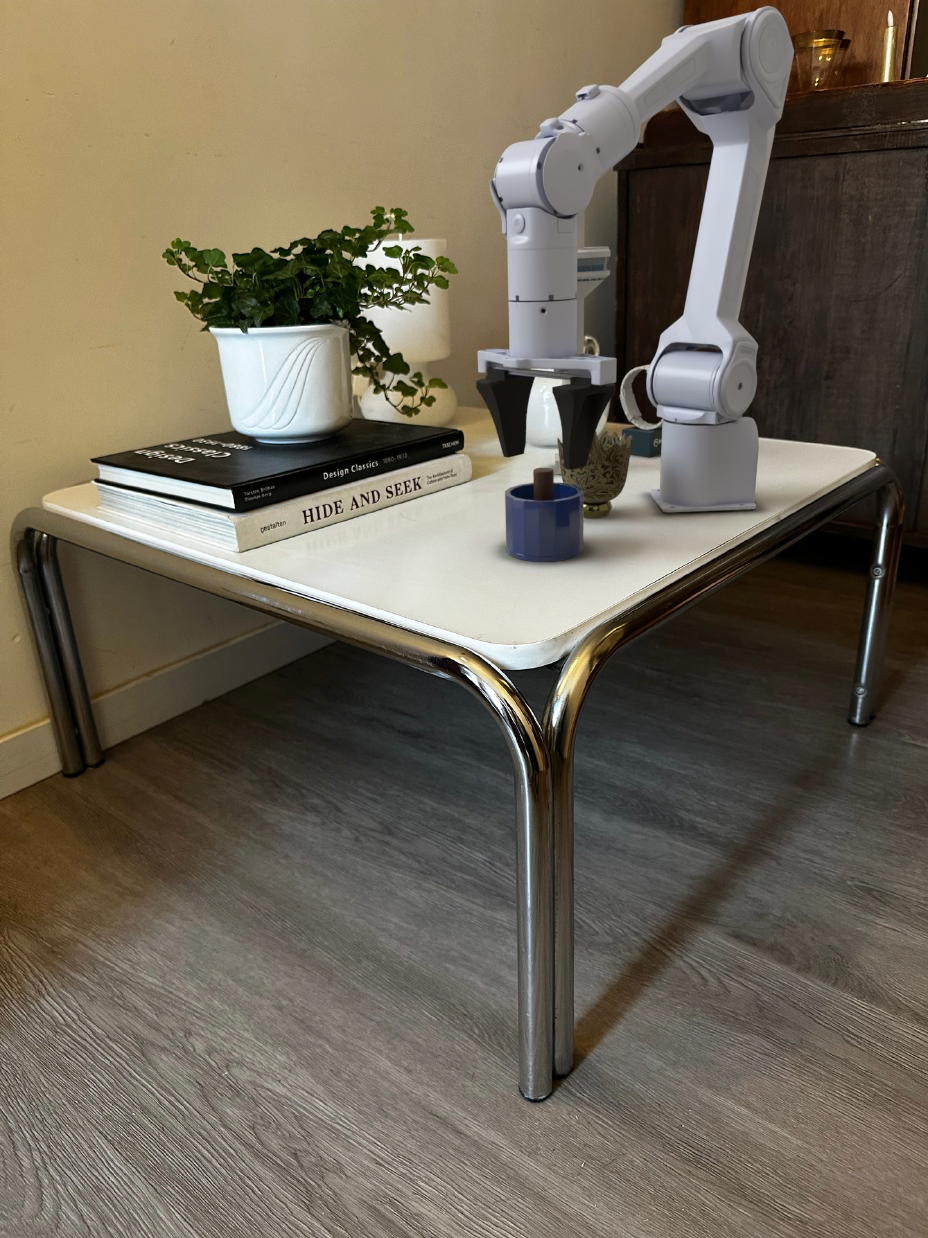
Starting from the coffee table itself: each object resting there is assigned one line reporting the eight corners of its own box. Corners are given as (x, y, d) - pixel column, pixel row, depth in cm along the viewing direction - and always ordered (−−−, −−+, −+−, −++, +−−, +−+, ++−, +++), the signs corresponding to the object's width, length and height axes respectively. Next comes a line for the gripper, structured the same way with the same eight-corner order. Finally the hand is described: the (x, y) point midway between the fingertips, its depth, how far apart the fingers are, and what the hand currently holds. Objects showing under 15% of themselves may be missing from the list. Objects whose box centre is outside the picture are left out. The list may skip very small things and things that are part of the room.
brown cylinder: (551, 540, 86) (550, 466, 84) (556, 546, 84) (555, 470, 82) (532, 542, 86) (531, 468, 83) (536, 548, 84) (536, 472, 82)
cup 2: (612, 528, 91) (613, 447, 88) (545, 519, 94) (544, 441, 91) (641, 509, 97) (643, 432, 94) (576, 502, 100) (577, 427, 97)
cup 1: (577, 537, 89) (578, 480, 87) (587, 560, 82) (587, 499, 80) (504, 539, 89) (503, 483, 87) (508, 563, 82) (506, 503, 80)
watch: (662, 459, 118) (666, 370, 114) (610, 451, 123) (612, 366, 119) (686, 451, 121) (690, 364, 117) (634, 444, 127) (637, 361, 123)
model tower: (604, 462, 117) (609, 202, 106) (608, 477, 110) (613, 200, 99) (538, 463, 118) (536, 206, 107) (537, 478, 111) (535, 203, 99)
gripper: (449, 301, 80) (456, 457, 85) (575, 304, 70) (574, 482, 75) (508, 295, 84) (511, 445, 89) (635, 298, 74) (630, 466, 79)
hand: (543, 461), depth 82 cm, fingers open, 7 cm apart
